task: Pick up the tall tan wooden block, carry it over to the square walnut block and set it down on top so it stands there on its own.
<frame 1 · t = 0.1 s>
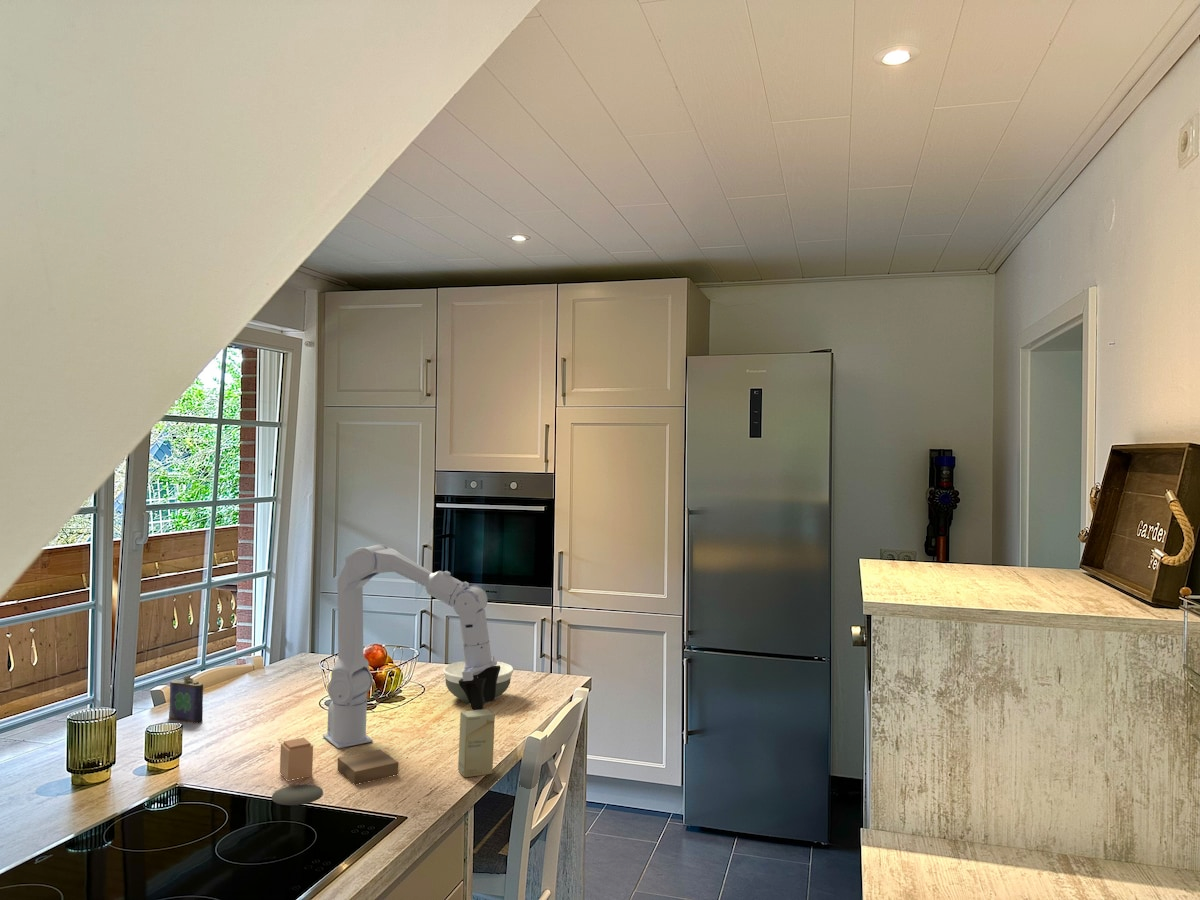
hand: (484, 706, 177), 11 cm above the counter, tool pointing down, fingers open, 7 cm apart
tall tan wooden block: (295, 775, 163), on the counter
skincare box: (475, 773, 167), on the counter
flask: (186, 720, 194), on the counter
walnut block: (367, 774, 165), on the counter
coaster: (297, 797, 153), on the counter
bowl: (477, 700, 217), on the counter
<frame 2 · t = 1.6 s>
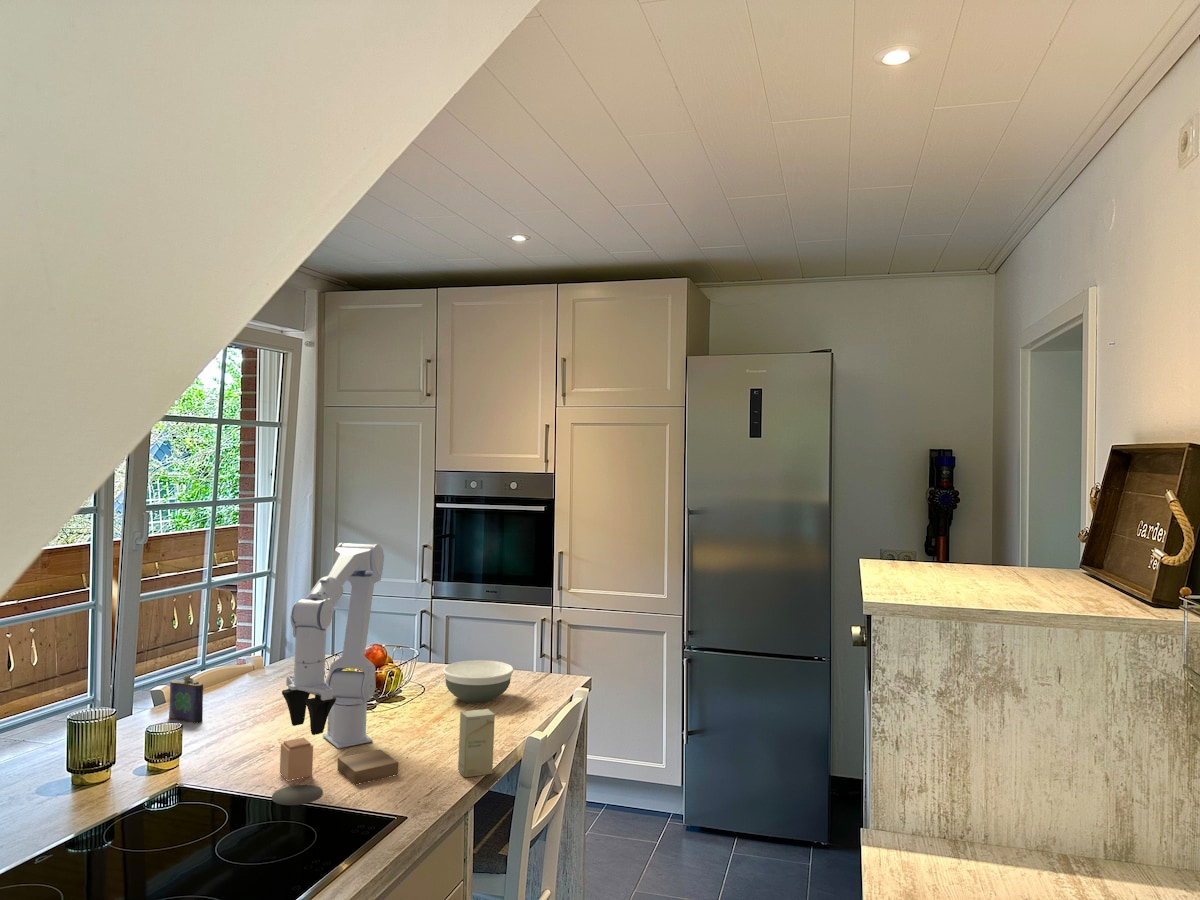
hand: (307, 729, 162), 9 cm above the counter, tool pointing down, fingers open, 7 cm apart
nothing on the counter moved.
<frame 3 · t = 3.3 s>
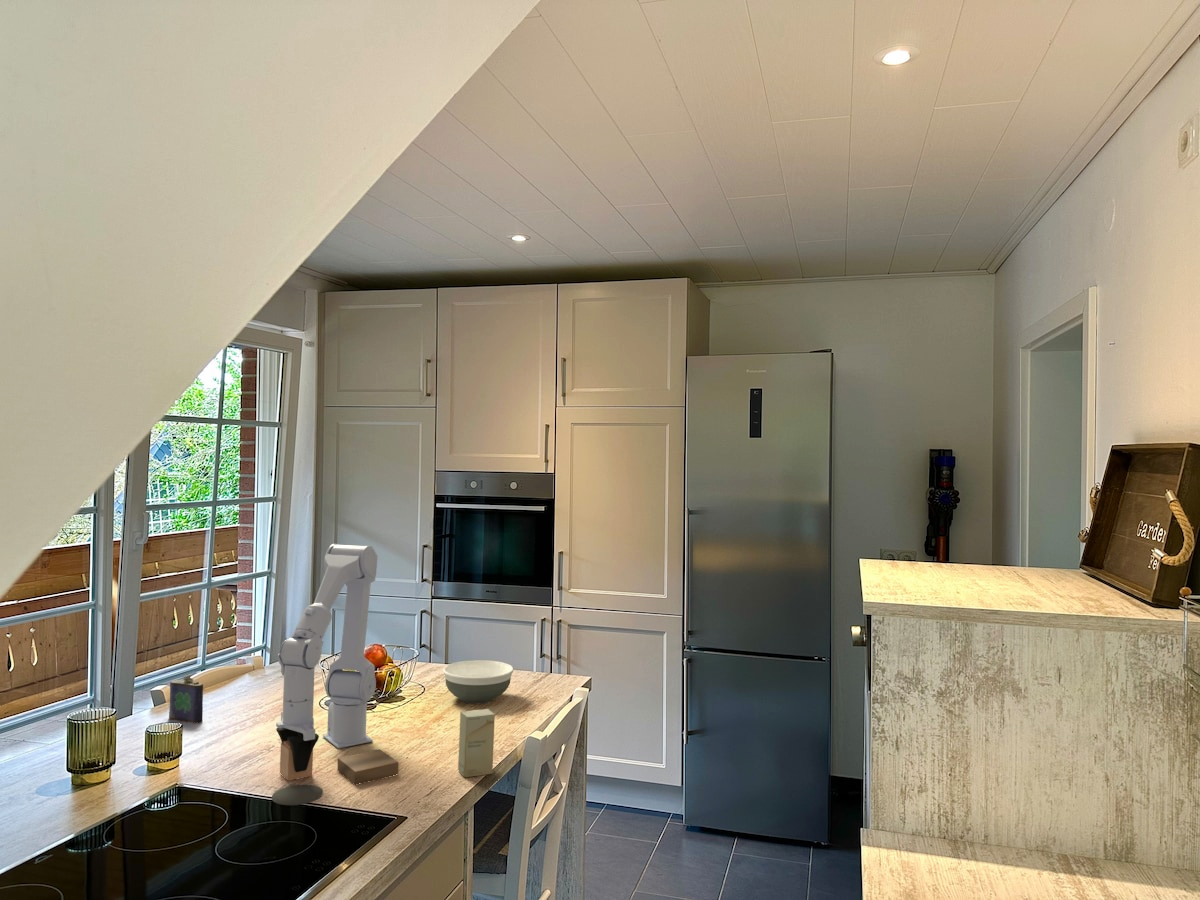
hand: (296, 766, 163), 2 cm above the counter, tool pointing down, fingers closed on tall tan wooden block, 5 cm apart
tall tan wooden block: (295, 774, 163), on the counter, touching gripper
everything else where it was.
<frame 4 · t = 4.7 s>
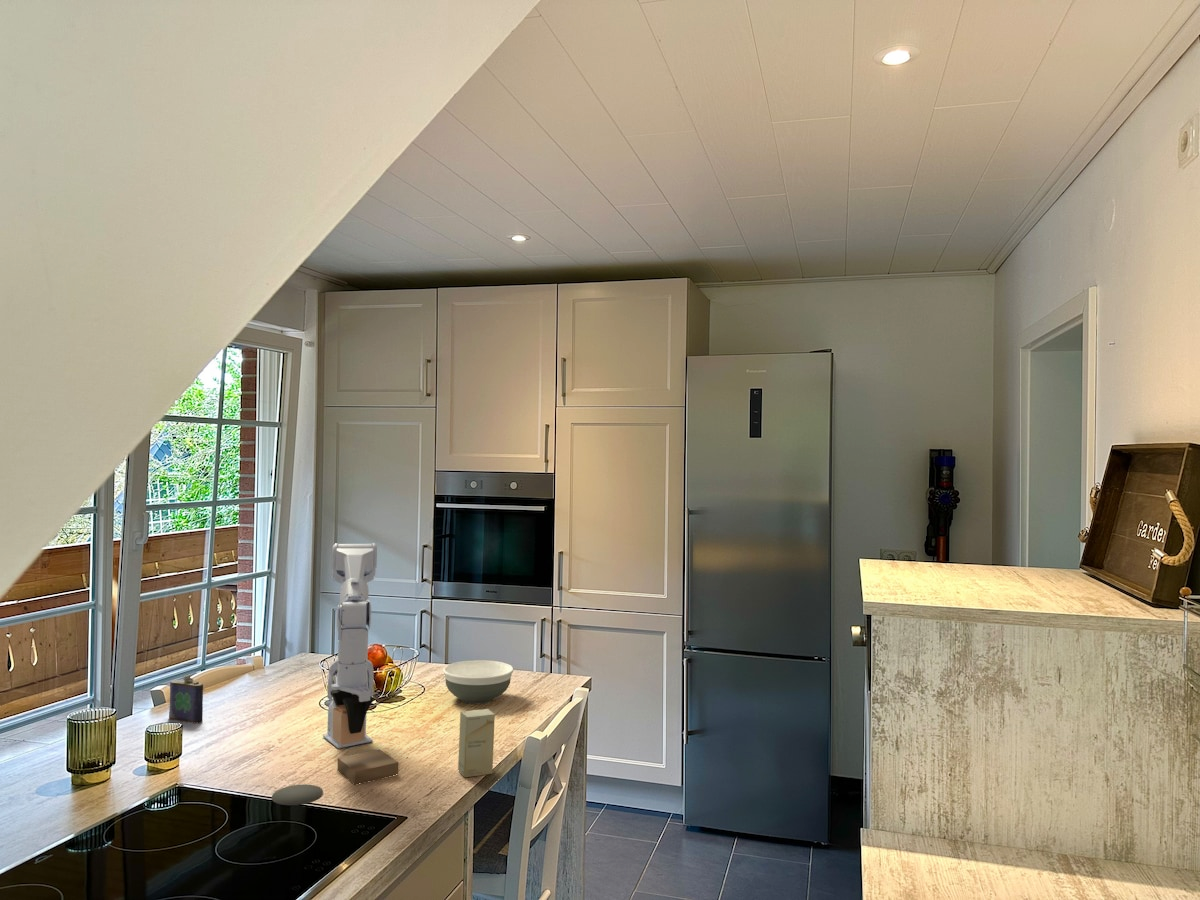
hand: (350, 728, 164), 9 cm above the counter, tool pointing down, fingers closed on tall tan wooden block, 5 cm apart
tall tan wooden block: (348, 738, 164), point 7 cm above the counter, touching gripper
everything else where it was.
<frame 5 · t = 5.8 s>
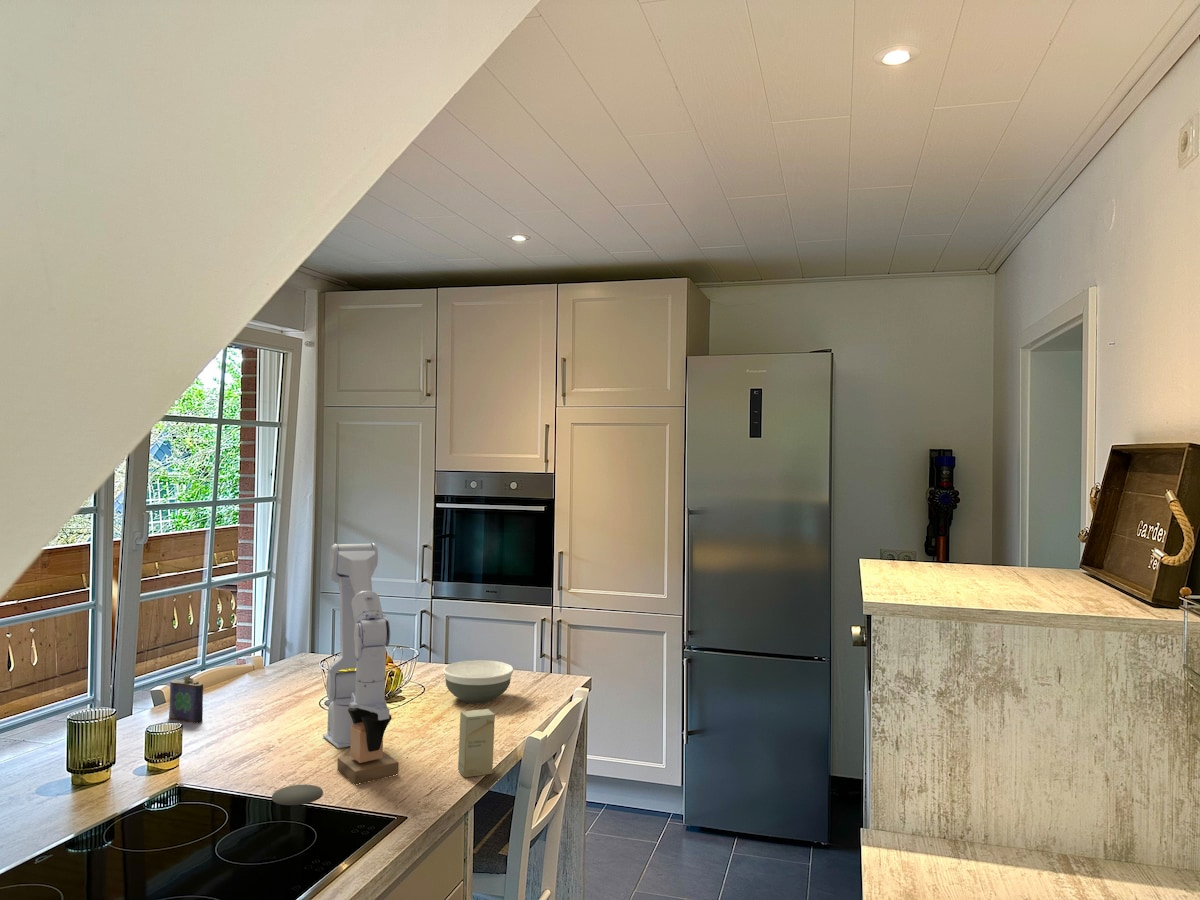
hand: (368, 746, 165), 5 cm above the counter, tool pointing down, fingers closed on tall tan wooden block, 5 cm apart
tall tan wooden block: (366, 756, 165), point 3 cm above the counter, touching gripper
everything else where it was.
when the fingers open (5 cm above the counter, at t = 6.3 s): tall tan wooden block stays where it is, point 3 cm above the counter.
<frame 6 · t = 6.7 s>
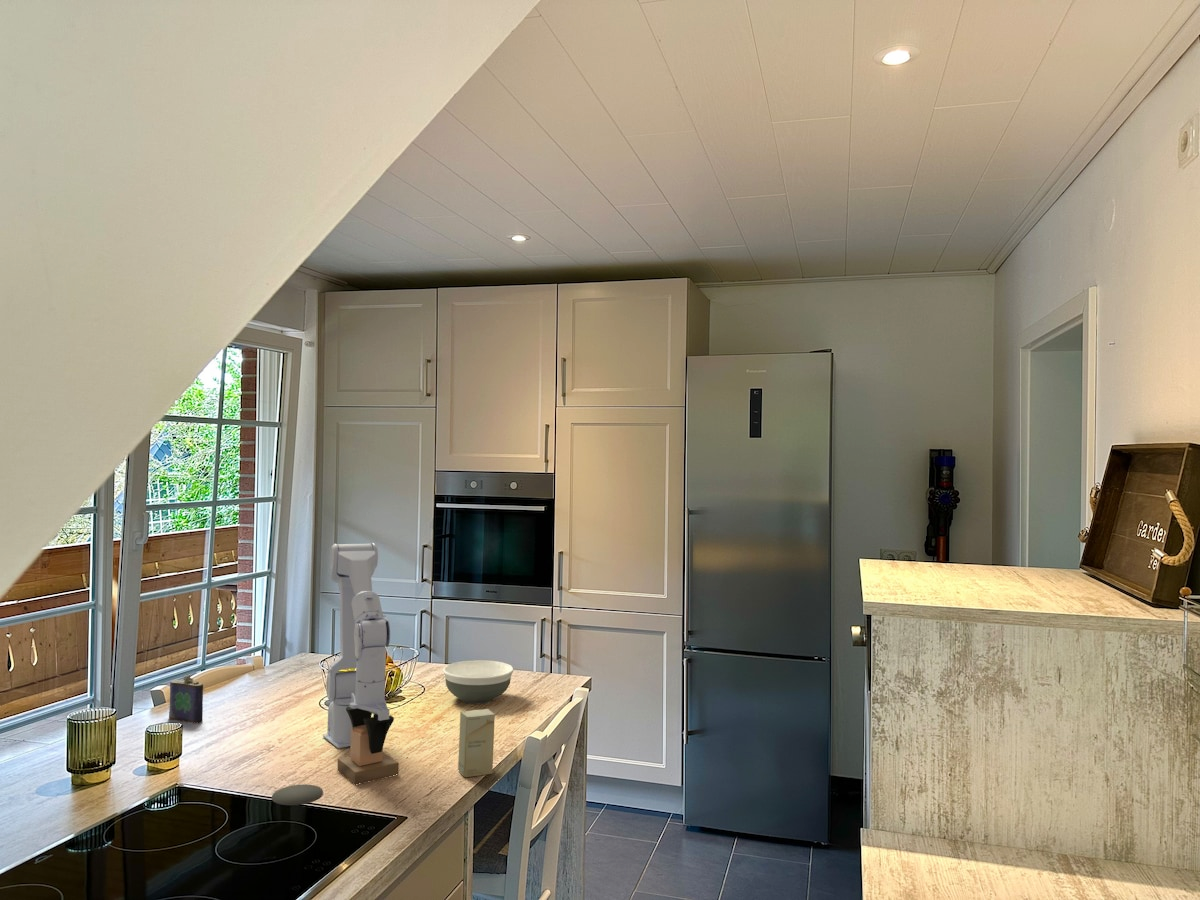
hand: (368, 746, 165), 5 cm above the counter, tool pointing down, fingers open, 7 cm apart
tall tan wooden block: (366, 760, 165), point 3 cm above the counter
everything else where it was.
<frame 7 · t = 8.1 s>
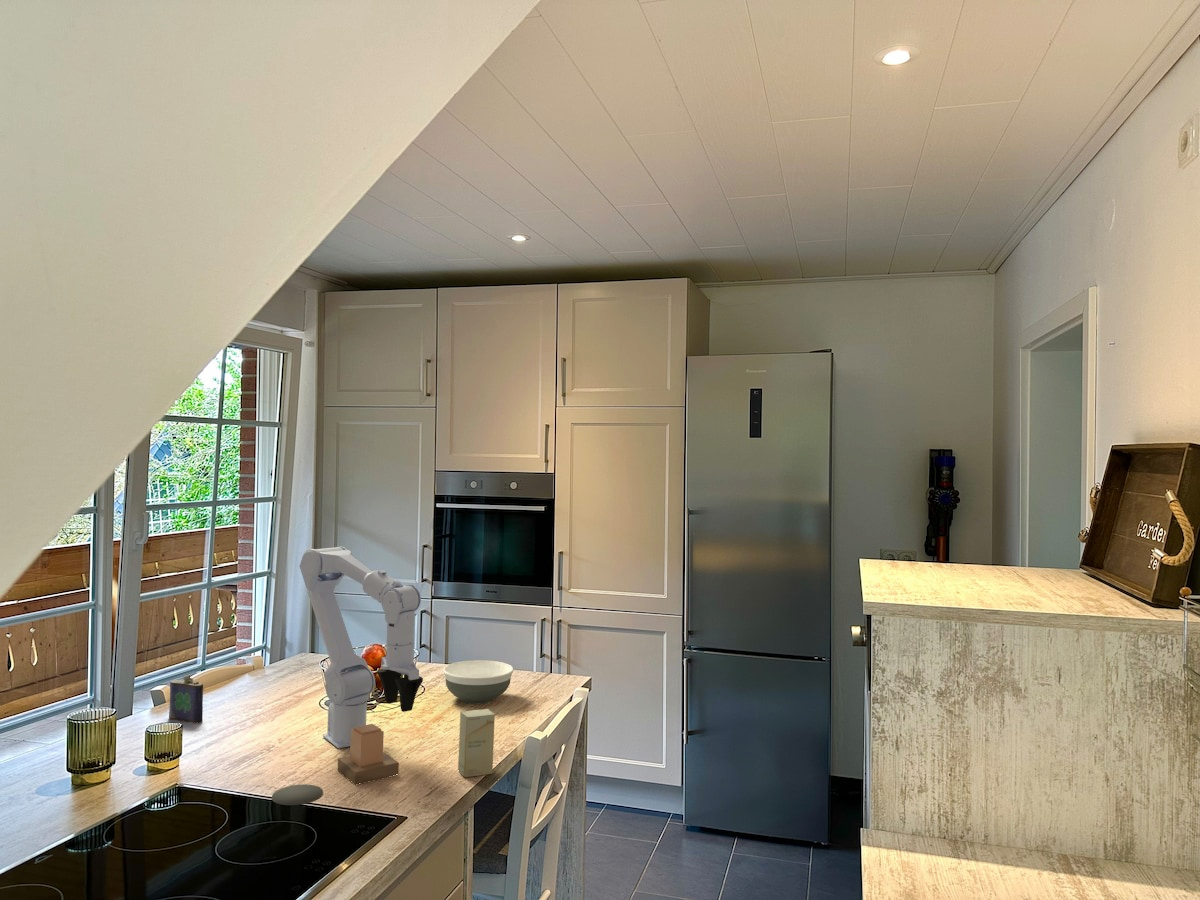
hand: (398, 706, 175), 10 cm above the counter, tool pointing down, fingers open, 7 cm apart
tall tan wooden block: (366, 760, 165), point 2 cm above the counter, touching walnut block
walnut block: (367, 775, 165), on the counter, touching tall tan wooden block
everything else where it was.
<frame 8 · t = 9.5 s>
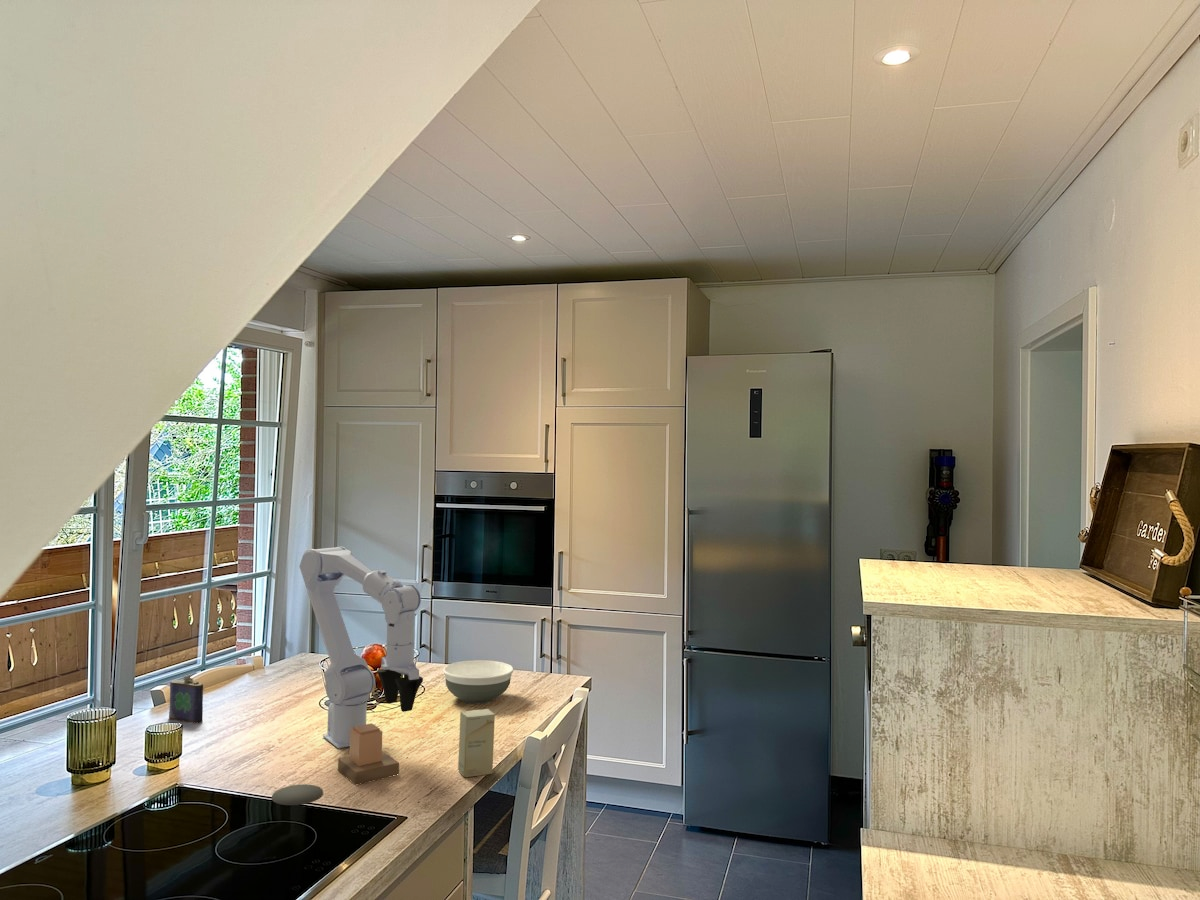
hand: (398, 706, 175), 10 cm above the counter, tool pointing down, fingers open, 7 cm apart
tall tan wooden block: (365, 760, 165), point 2 cm above the counter
walnut block: (368, 775, 165), on the counter
everything else where it was.
at the end: tall tan wooden block inside the target area on the walnut block (0.6 cm from its centre), point 3.0 cm above the walnut block's base; tall tan wooden block tilted 1°; the gripper is holding nothing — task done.
